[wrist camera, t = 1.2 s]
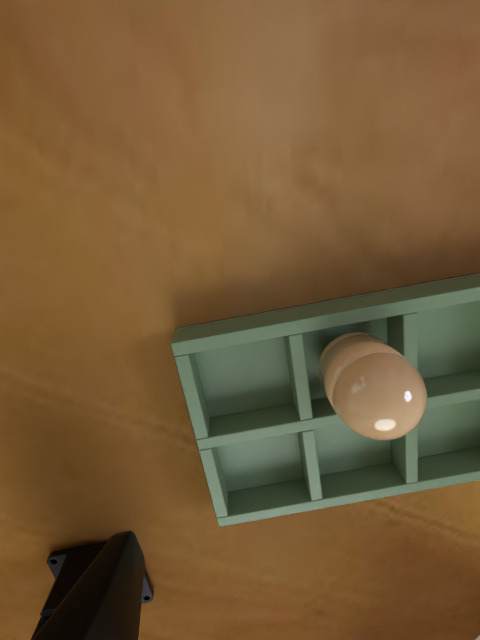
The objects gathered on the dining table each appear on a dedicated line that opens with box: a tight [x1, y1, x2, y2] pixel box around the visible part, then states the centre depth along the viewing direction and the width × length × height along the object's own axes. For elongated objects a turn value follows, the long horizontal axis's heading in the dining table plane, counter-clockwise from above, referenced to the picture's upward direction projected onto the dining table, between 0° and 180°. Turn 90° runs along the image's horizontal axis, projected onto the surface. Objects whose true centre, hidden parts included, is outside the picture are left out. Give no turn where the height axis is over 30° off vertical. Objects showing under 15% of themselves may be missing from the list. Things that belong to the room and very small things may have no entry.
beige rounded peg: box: [318, 332, 428, 441], centre depth 18 cm, size 4×4×7 cm
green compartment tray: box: [171, 273, 480, 527], centre depth 21 cm, size 13×20×2 cm
